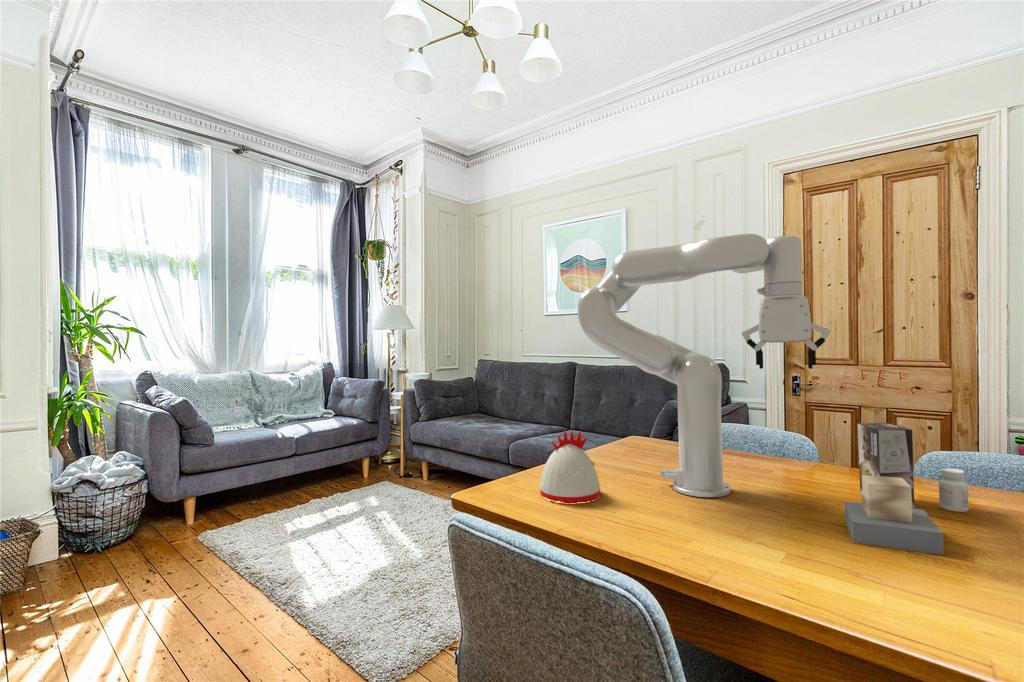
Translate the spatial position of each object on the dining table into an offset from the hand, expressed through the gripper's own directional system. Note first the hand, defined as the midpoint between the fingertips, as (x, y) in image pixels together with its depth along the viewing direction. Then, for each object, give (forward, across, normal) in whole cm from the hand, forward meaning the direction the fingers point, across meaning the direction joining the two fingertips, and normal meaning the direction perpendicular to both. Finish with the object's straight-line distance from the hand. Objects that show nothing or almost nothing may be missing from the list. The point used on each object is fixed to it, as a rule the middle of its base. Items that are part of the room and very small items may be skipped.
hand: (785, 368), depth 112 cm
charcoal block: (+29, +15, -19) cm, 38 cm away
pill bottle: (+28, +29, +2) cm, 41 cm away
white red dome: (+29, -45, -19) cm, 57 cm away
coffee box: (+28, +18, +2) cm, 34 cm away
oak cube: (+25, +15, -19) cm, 34 cm away
